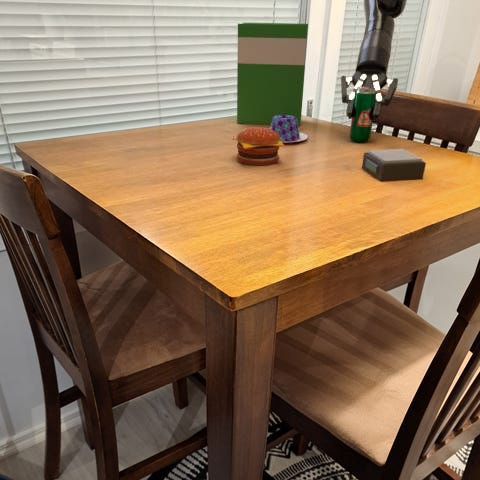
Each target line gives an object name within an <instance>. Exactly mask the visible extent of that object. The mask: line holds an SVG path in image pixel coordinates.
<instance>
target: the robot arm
mask: <svg viewBox="0 0 480 480" xmlns="http://www.w3.org/2000/svg"><path fill="white" fill-rule="evenodd" d="M407 2H408V0H363V12H364V19H365V26H364V27H365V28H364V32H363V37H362V40H361V43H360V47H359V52H358V57H357V61H356V66H355V71H354V73H353V74H352V76H350V77H347V76H346V75H341V77H340V90H341V103H342V104H347V106H346V110H345V112H346V114H345V115H346V117H348V120H352V112H353V104H354V95H355V91H356V90H357V87H359V86H371V87H375V88H376V89H375V90H376V93H377V94H376V101H375V106H374V111H373V117H372V120H373V122H374V121H376V119H379V118H380V113H381V108H382V107H383V106H385V107H388V106H390V104H391V102H392V100H393V97H394V95H395V93H396V91H397V88H398V83H399V79H398V78H397V77H394V78H393V79H390V78H388V75H387V73H388V69H389V63H390V59H391V56H392V55H391V53H392V46H393V45H392V43H393V37H394V31H395V26H396V25H395V24H396V22H395V19H397V18H399V16H401V15H402V14H403V13H404V11H405V9H406V6H407ZM351 84H352V85H353V89H352V91H351V93H350V94H348V91H347V90H348V88H349V87H350V85H351ZM385 86H387V92H386V93H385V95H384V96H382V92H381V90H382V89H383V88H384V87H385Z"/></svg>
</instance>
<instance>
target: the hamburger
mask: <svg viewBox="0 0 480 480" xmlns="http://www.w3.org/2000/svg"><path fill="white" fill-rule="evenodd" d="M280 139H281V138H280V135H279V134H278V133H276V132H275V131H273V130H271V129H270V128H268V127H263V126H253V127H246V128H245V129H243V130H242V131H240V132H239V133H238V134H237V135H236V137H233V138H232V140H233V141H234V140H235V141H236V142H237V144H236V148H237V154H236V159H237V161H238V162H240V163H242V164H245V165H250V166H266V165H273V164H275V163H277V162H278V161H279V159H280V156H279V149H280V147H283V148H284V147H285V144H284V143H282V142H281V141H280Z"/></svg>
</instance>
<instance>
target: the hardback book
mask: <svg viewBox="0 0 480 480" xmlns="http://www.w3.org/2000/svg"><path fill="white" fill-rule="evenodd" d="M308 30H309V23H294V22H293V23H291V22H247V21H245V22H237V60H236V61H237V68H236V70H237V71H236V72H237V73H236V75H237V79H236V80H237V82H236V84H237V85H236V96H237V97H236V124H245V125H246V124H247V125H249V124H250V125H270V126H271V123H272V120H273V117H274V116H278V115H289V116H294V117H296V118H297V121H298V127H301V123H302V115H303V114H302V113H303V99H304V97H303V96H304V86H305V74H306V73H305V72H306V59H307V58H306V57H307V46H308V33H309V31H308Z"/></svg>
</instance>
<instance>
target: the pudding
mask: <svg viewBox="0 0 480 480" xmlns="http://www.w3.org/2000/svg"><path fill="white" fill-rule="evenodd" d="M269 129H271V130H273V131H275V132H276V133H278V134H279V135H280V138H281V139H280V141H281V142H282V143H283V144H292V143H297V142H302V141H305V140H307V139H308V138H309V136H308V135H307V134H305V133H303V132H300V128H299V126H298V121H297V118H296V117H294V116H289V115H278V116H274V117H273V120H272V123H271V125H270V128H269Z"/></svg>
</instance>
